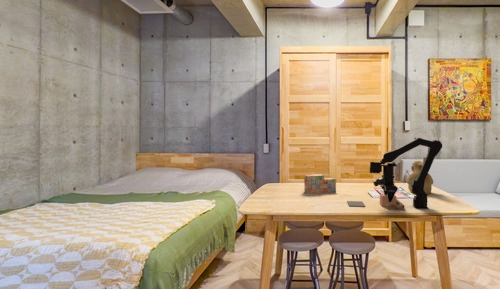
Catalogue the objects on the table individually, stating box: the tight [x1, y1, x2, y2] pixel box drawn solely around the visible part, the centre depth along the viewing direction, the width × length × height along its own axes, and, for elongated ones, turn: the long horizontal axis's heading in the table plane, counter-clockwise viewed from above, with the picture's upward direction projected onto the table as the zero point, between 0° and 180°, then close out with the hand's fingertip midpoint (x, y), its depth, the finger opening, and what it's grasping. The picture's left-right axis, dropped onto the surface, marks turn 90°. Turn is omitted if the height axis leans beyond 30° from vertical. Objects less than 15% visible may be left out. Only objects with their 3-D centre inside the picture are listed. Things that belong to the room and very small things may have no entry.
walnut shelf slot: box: [386, 198, 405, 211], centre depth 201 cm, size 9×21×2 cm, turn 170°
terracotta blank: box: [379, 193, 397, 207], centre depth 201 cm, size 8×5×6 cm, turn 80°
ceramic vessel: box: [406, 157, 434, 195], centre depth 237 cm, size 17×20×25 cm
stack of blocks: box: [303, 173, 337, 194], centre depth 244 cm, size 21×6×12 cm, turn 102°
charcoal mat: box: [346, 200, 366, 208], centre depth 204 cm, size 9×12×1 cm
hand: (388, 200), depth 201 cm, fingers open, 9 cm apart
